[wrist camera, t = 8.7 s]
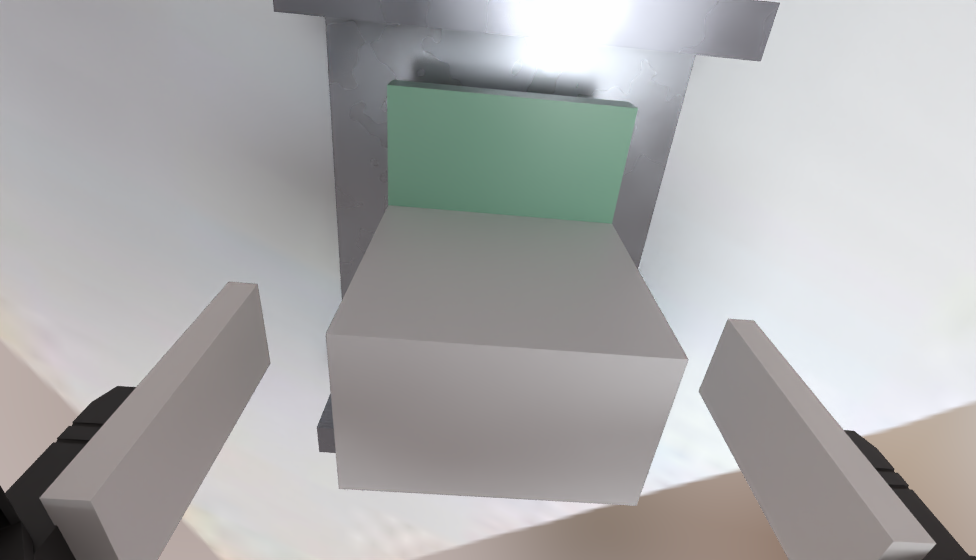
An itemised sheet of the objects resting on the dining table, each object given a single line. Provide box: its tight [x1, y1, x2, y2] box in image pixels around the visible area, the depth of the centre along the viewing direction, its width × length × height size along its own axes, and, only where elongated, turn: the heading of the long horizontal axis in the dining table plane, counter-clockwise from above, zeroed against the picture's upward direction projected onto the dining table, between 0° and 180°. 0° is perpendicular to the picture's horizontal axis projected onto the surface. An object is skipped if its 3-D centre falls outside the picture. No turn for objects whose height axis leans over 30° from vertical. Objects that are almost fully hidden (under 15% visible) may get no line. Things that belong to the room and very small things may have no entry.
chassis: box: [273, 0, 780, 453], centre depth 21 cm, size 20×14×6 cm
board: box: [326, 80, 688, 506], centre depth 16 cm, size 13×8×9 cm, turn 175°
